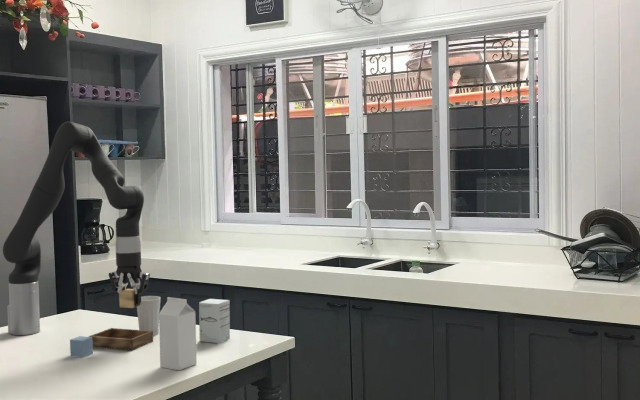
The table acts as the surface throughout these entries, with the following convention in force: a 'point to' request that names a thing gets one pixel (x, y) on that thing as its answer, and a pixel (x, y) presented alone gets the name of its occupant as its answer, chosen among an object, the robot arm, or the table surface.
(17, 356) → the table surface
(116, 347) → the tray
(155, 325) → the cup
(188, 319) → the milk carton
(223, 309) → the supplement box
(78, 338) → the slate block
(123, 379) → the table surface
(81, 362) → the table surface
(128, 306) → the oak block
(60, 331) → the table surface
